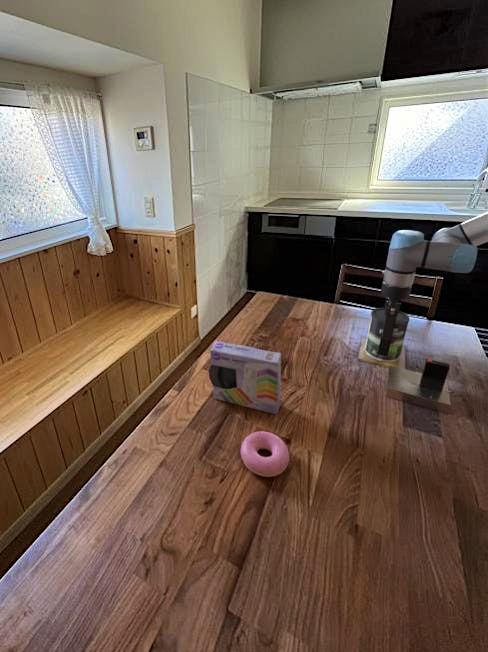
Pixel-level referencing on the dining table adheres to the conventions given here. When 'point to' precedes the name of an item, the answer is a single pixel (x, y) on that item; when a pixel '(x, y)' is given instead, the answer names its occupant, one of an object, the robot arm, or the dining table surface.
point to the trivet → (368, 359)
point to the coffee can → (377, 329)
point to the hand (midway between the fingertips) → (383, 345)
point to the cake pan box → (246, 376)
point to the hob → (415, 390)
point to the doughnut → (265, 464)
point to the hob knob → (434, 374)
